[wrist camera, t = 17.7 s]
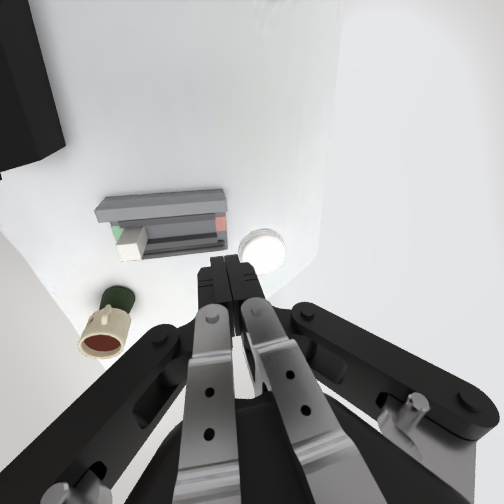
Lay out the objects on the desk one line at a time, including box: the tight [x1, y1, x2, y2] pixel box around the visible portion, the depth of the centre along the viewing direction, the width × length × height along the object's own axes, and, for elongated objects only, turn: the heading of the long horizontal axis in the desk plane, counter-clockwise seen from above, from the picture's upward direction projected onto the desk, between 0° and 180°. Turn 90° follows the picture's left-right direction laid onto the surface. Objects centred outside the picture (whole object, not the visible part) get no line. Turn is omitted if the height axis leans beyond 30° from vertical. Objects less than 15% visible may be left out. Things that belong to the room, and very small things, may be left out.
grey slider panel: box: [94, 189, 228, 261], centre depth 43 cm, size 12×20×6 cm, turn 90°
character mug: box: [78, 287, 135, 359], centre depth 46 cm, size 11×7×13 cm, turn 165°
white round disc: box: [239, 229, 286, 275], centre depth 52 cm, size 10×10×4 cm
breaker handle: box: [115, 226, 148, 262], centre depth 40 cm, size 3×3×7 cm
